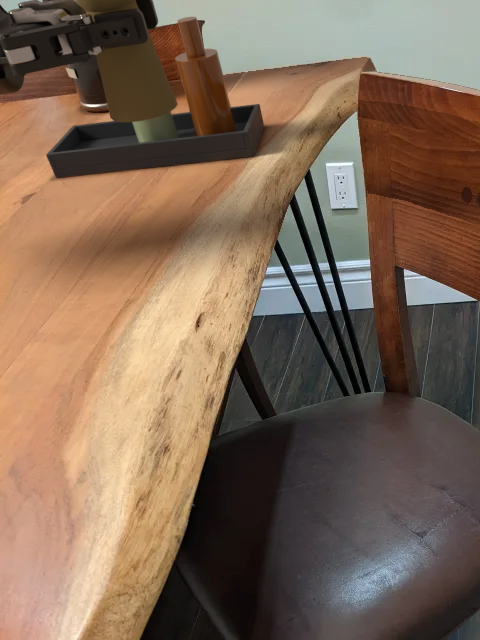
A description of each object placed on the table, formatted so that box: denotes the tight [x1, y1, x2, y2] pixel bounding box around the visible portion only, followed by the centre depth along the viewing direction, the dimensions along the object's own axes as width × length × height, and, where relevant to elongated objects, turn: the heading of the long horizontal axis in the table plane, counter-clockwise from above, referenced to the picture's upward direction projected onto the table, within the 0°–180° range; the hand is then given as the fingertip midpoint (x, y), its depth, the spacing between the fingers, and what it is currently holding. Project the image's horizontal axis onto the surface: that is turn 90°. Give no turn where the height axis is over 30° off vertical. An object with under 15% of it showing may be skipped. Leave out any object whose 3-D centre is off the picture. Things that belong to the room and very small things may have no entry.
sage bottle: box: [132, 111, 179, 143], centre depth 83 cm, size 5×5×12 cm
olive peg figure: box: [76, 0, 178, 122], centre depth 57 cm, size 6×6×11 cm
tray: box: [45, 103, 265, 179], centre depth 87 cm, size 25×10×3 cm, turn 89°
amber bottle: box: [174, 16, 237, 136], centre depth 82 cm, size 5×5×12 cm
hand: (149, 18), depth 56 cm, fingers closed on olive peg figure, 4 cm apart
